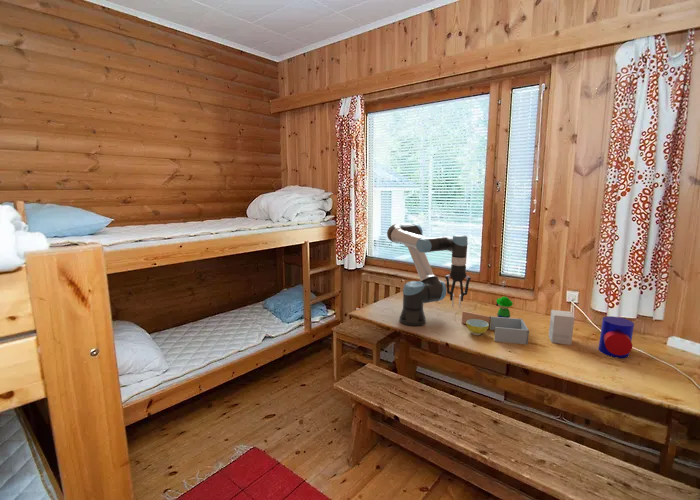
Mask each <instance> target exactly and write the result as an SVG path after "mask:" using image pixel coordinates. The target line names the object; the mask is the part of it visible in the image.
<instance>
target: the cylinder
mask: <svg viewBox="0 0 700 500" xmlns="http://www.w3.org/2000/svg"><path fill="white" fill-rule="evenodd" d="M634 329H635V323H634V322H633V321H631V320H629V319H626V318H623V317H619V316H611V315H610V316H604V317H602V322H601V326H600V336H599V341H598V351H599V352H600V353H601V352H602V353H601V354H603V353H604V354H603V355H605V354H606V356H608V355H609V356H608V357H611V356H612V357H611V358H615V357H618V358H617V359H626V358H625V357H628V356H629V357H630V353H631V351H632V350H633V343H632V341H633V335H634ZM629 357H628V358H629Z"/></svg>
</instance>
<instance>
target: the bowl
mask: <svg viewBox="0 0 700 500" xmlns="http://www.w3.org/2000/svg"><path fill="white" fill-rule="evenodd" d="M465 325H466V327H467V329H468V330H469V332H470V333H471V332H472V335H475V336H481V335H482V334H483V333H485V332H486V331H487V330H489V329H488V326H489V324H488V323H487V322H486V321H483V320H479V319H470V320H467V321H466V324H465Z"/></svg>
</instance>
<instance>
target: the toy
mask: <svg viewBox="0 0 700 500" xmlns="http://www.w3.org/2000/svg"><path fill="white" fill-rule="evenodd" d="M495 303H496V305H495V306H496V307H499V309H498V310H497V313H496V314H497V315H496V316H497V317H504V318H511V312H510V309H509V308H510V307H512V306H513V305H514V303H513V301H512V300H511V299H510V298H509V297H508V296H501V297H499V298H496V302H495Z"/></svg>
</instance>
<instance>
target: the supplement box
mask: <svg viewBox="0 0 700 500" xmlns="http://www.w3.org/2000/svg"><path fill="white" fill-rule="evenodd" d="M574 324H575V316H574V315H573V314H572V312H571V311H570V310H569V311H566V310H556V309H551V310H550V320H549V329H548V338H549V341H550V342H551V343H552V344H559V345H569V346H572V341H573V333H574Z"/></svg>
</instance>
